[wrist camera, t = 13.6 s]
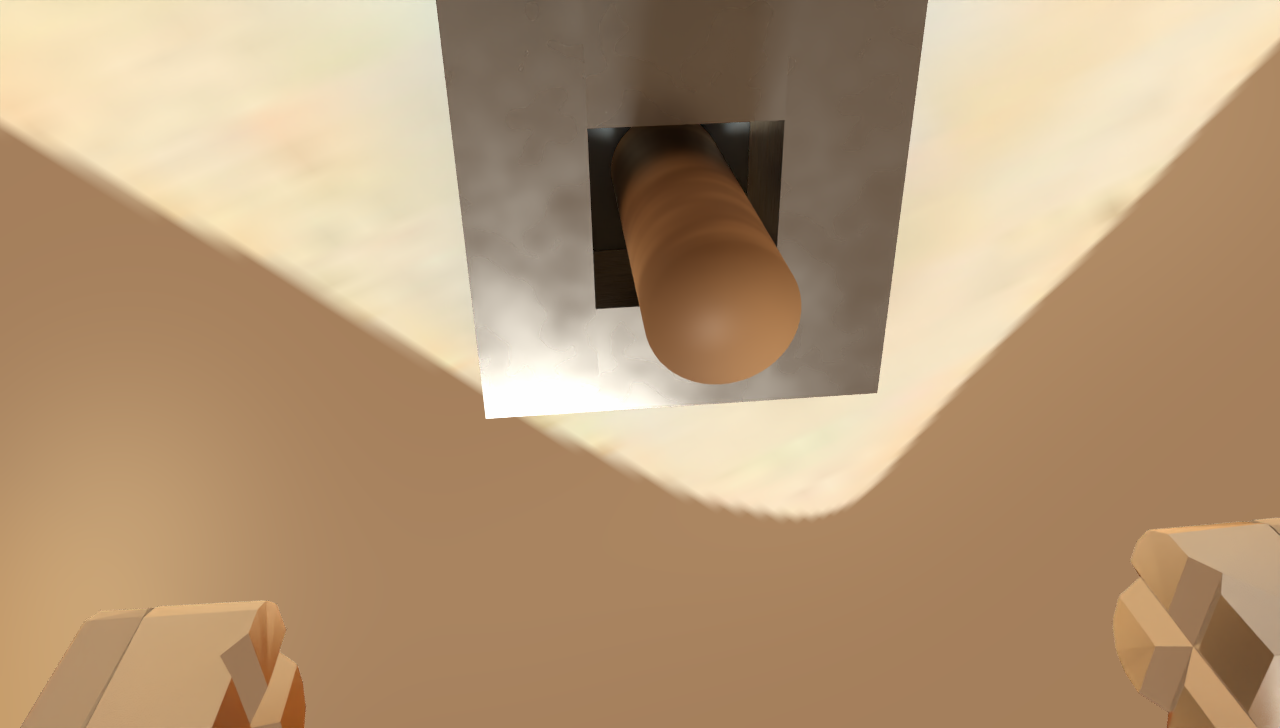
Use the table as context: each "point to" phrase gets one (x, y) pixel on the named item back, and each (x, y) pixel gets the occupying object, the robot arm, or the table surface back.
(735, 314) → the walnut peg
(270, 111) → the table surface
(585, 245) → the socket block
